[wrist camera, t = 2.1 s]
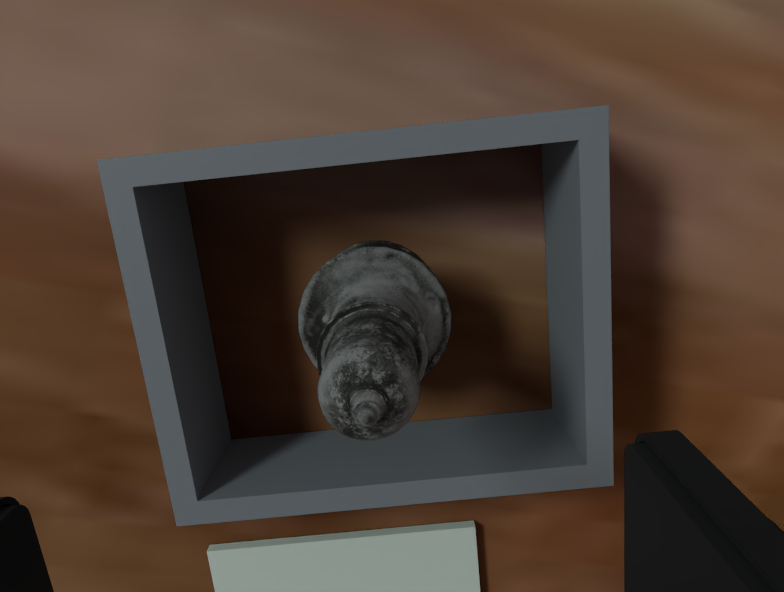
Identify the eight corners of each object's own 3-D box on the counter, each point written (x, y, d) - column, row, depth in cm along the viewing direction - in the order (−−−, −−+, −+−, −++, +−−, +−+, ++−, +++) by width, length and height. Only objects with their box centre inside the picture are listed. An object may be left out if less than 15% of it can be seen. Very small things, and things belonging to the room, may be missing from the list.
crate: (564, 114, 24) (608, 105, 19) (574, 426, 27) (613, 485, 23) (154, 157, 24) (96, 159, 20) (214, 460, 28) (176, 526, 23)
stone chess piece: (470, 289, 26) (537, 403, 14) (387, 387, 27) (385, 567, 15) (365, 205, 25) (344, 253, 13) (283, 309, 26) (197, 439, 14)
